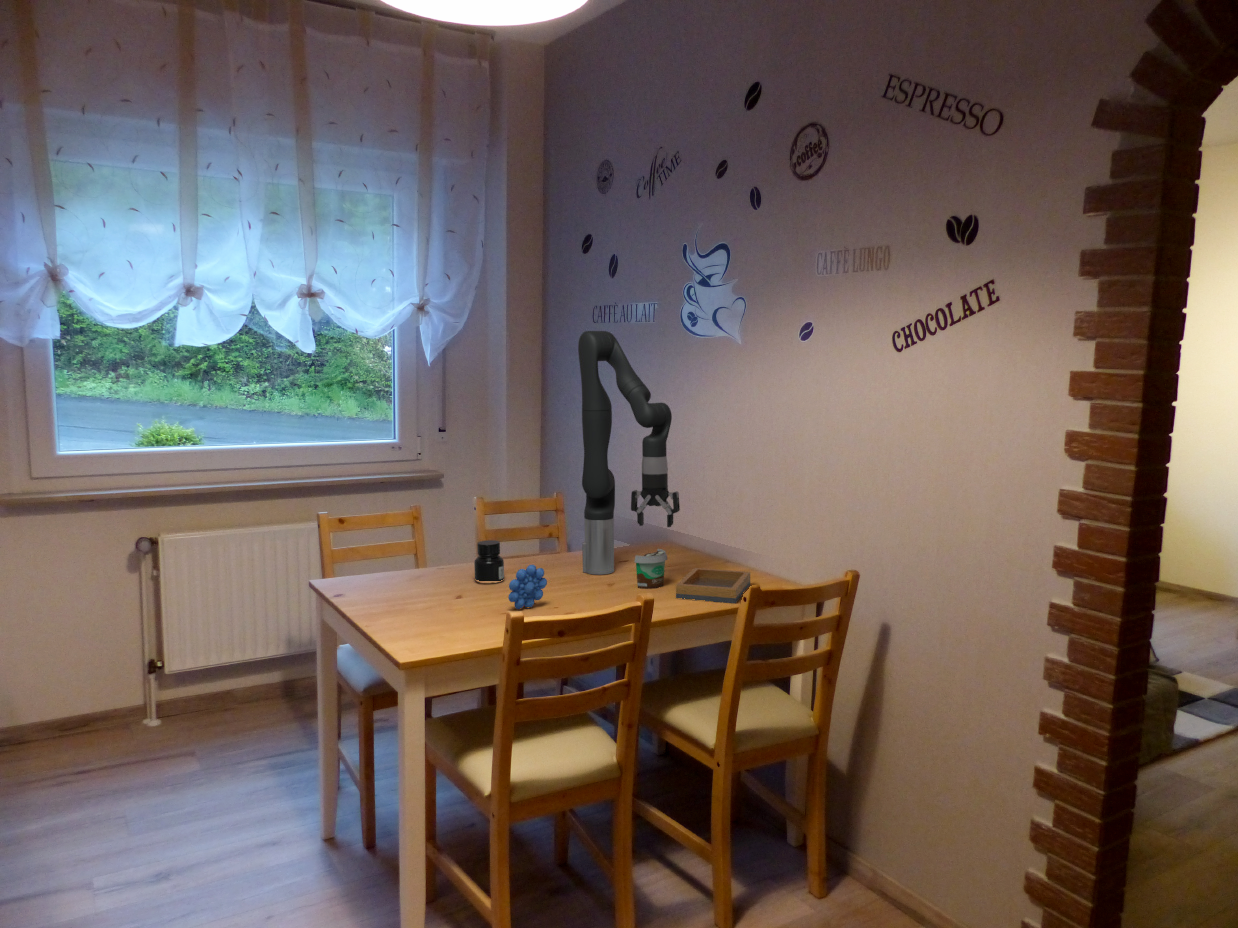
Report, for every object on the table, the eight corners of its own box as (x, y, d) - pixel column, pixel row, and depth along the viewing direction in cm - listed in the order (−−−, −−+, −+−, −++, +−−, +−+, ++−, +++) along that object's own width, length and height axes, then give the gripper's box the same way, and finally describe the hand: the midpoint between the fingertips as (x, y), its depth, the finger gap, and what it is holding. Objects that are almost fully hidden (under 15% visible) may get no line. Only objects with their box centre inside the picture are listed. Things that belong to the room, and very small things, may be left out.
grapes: (539, 601, 255) (538, 559, 253) (551, 606, 249) (550, 563, 248) (501, 608, 249) (500, 564, 247) (513, 613, 243) (512, 569, 242)
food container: (651, 592, 264) (651, 558, 262) (634, 589, 267) (634, 555, 266) (675, 583, 273) (675, 550, 272) (658, 580, 277) (658, 548, 276)
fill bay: (675, 598, 256) (675, 584, 256) (694, 580, 276) (694, 567, 276) (735, 603, 251) (735, 589, 250) (750, 584, 271) (750, 571, 270)
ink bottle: (508, 582, 276) (507, 543, 274) (480, 586, 272) (479, 546, 270) (498, 575, 284) (497, 538, 283) (470, 579, 280) (469, 540, 279)
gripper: (627, 472, 265) (628, 527, 267) (674, 473, 260) (675, 529, 262) (635, 469, 272) (636, 522, 274) (681, 470, 267) (682, 524, 269)
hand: (655, 526), depth 268 cm, fingers open, 8 cm apart
